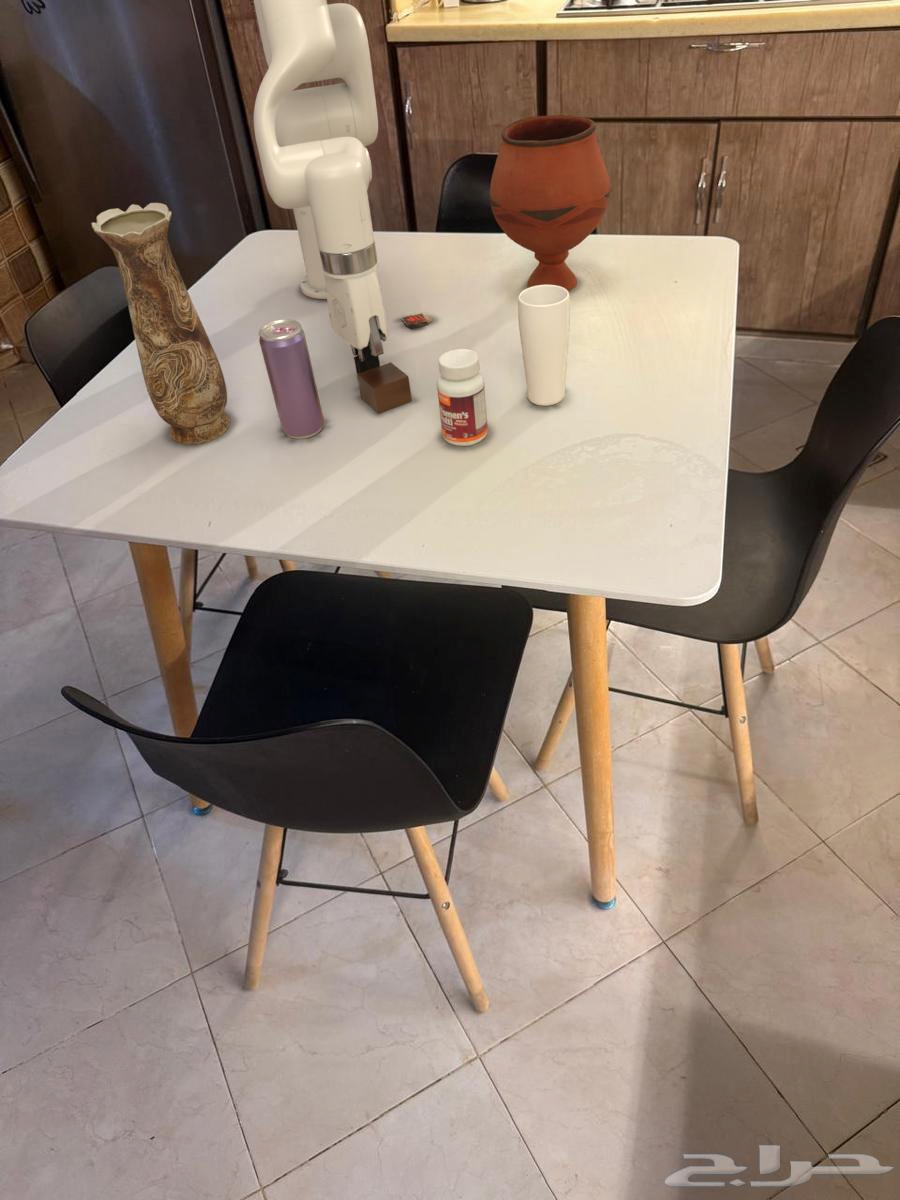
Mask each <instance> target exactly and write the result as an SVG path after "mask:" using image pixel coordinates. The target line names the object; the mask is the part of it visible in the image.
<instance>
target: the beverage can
mask: <svg viewBox="0 0 900 1200" xmlns="http://www.w3.org/2000/svg"><path fill="white" fill-rule="evenodd" d="M258 335H259V338H258V341H259V346H260V350H261V354H262V358H263V361H264V366H265V370H266V372H267V377H268V381H269V384H270V388H271V392H272V396H273V400H274V404H275V407H276V412H277V416H278V419H279V423H280V427H281V430H282V432H283V433H284V434H285V435H286V436H287V437H289V438H291V439H295V440H302V439H303V440H305V439H309V438H311V437H315V436H316V435H318V434H319V433H320V432H321V431H322V429H323V427H324V425H325V419H324V415H323V410H322V406H321V405H322V404H321V401H320V396H319V392H318V388H317V387H318V386H317V383H316V378H315V374H314V369H313V365H312V361H311V356H310V351H309V347H308V343H307V338H306V333H305V331H304V329H303V327H302V324H301V323H300V322H299V321H297V320H295V319H277V320H274V321H270V322H268V323H265V324H264V325H263V326H261V327H260V328H259V329H258Z"/></svg>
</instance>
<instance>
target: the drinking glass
mask: <svg viewBox="0 0 900 1200" xmlns="http://www.w3.org/2000/svg"><path fill="white" fill-rule="evenodd" d="M517 316H518V317H517V318H518V329H519V330H518V331H519V339H520V344H521V345H520V347H521V354H522V360H523V361H522V362H523V367H524V376H525V383H526V396H527V397H526V398H527V399H528V401H529V402H530V403H532V404H534V405H537V406H540V407H549V406H553V405H557V404H559V403H561V402H562V401H563V400H564V398H565V396H566V377H567V365H568V355H569V354H568V352H569V343H570V342H569V340H570V328H571V301H570V291H567V290H566V289H565V288H563V287H560V286H557V285H537V286H533V287H530V288H527V287H526V288H525V289H523V290H522V291H521V292H519V294H518V296H517Z"/></svg>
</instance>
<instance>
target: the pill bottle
mask: <svg viewBox="0 0 900 1200" xmlns="http://www.w3.org/2000/svg"><path fill="white" fill-rule="evenodd" d="M438 371H439V377H438V378H437V381H436V391H437V397H438V407H439V415H440V417H439V418H440V423H441V424H440V426H441V433H442V437H443V439H444V440H445V441H446V442H447V443H448V444H451V445H452V446H457V447H467V446H472V445H476V444H477V443H480V442H481V441H483V440H484V439H485V438H486V436H487V435H488V415H487V402H486V389H485V388H486V386H485V379H484V376H483V374H482V372H480V371H481V365H480V357H479V354H478V353H477V351H474V350H472V349H468V348H457V349H452V350H451V349H450V350H448V351H445V352H444V353H442V354H441V355H440V356H439V358H438Z"/></svg>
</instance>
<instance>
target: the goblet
mask: <svg viewBox="0 0 900 1200" xmlns="http://www.w3.org/2000/svg"><path fill="white" fill-rule="evenodd" d="M596 129H597V124H596V123H595V121H594V120H593V119H590V118H588V117H584V116H578V115H572V114H569V115H565V114H551V115H550V114H549V115H536V116H535V115H534V116H527V117H524V118H521V119H518V120H516V121H512V123H510V124H509V125H507V126H506V127H504V129H503V130H502V132H501V139H502V141H501V144H500V147H499V151H498V154H497V157H496V160H495V164H494V168H493V171H492V175H491V179H490V188H489V201H490V207H491V211H492V214H493V216H494V219H495V221H496V222H497V224H498V225H499V227H500V228H501V230H502V231H503V232H504V234H505V235H506V236H507V238H509V239H510V240H511V241H513V243H515V244H517V245H519V246H520V247H522V248H524V249H526V250H528V251H530V252H532V253H534V259H535V260H536V261H537V262H538V264H537V266H536V268H535V269H534V270H533V271H532V273H531V274H530V276H529V277H528V280H527V283H526V289H527V288H530V287H533V286H537V285H557V286H560V287H563V288H565V289H566V290H567V291H568V292H570V291H572V290H573V289H574V288H575V287H576V286H577V285H578V283H579V281H578V279H577V277H576V275H575V273H574V271H572V269H571V268H570V267H569V266H568V265H567V263H566V260H567V258H568V257H569V255H570V253H569V251H570V250H573V249H574V248H576V247H577V246H579V245H581V243H582V242H583V241H585V240H586V239H587V238H588V237H589V236H590V235H591V234H592V233H593V232H594V230H596V228H597V227H598V225H599V224H600V223H601V221H602V220H603V218H604V215H605V213H606V211H607V210H608V209H607V208H608V206H609V201H610V195H611V194H610V193H611V192H610V191H611V184H610V182H611V181H610V177H609V172H608V169H607V166H606V163H605V161H604V158H603V155H602V152H601V149H600V146H599V142H598V138H597V134H596Z"/></svg>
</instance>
